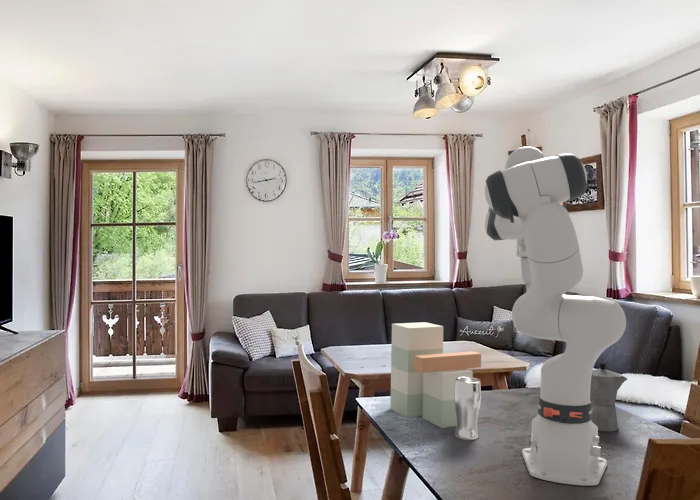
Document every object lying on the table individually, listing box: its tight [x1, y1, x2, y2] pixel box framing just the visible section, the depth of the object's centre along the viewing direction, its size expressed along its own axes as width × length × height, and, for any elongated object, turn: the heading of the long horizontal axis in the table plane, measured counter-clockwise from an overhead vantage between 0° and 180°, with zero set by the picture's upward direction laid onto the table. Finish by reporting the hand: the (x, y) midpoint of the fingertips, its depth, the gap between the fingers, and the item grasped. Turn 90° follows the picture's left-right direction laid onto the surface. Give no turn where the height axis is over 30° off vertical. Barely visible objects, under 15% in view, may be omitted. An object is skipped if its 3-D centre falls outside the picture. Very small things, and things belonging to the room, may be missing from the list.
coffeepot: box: [590, 362, 628, 433], centre depth 166 cm, size 15×9×18 cm, turn 45°
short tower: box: [422, 368, 474, 429], centre depth 168 cm, size 10×10×15 cm
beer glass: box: [454, 377, 482, 441], centre depth 155 cm, size 7×7×15 cm
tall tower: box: [389, 321, 444, 418], centre depth 178 cm, size 12×10×26 cm
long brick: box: [414, 350, 482, 373], centre depth 168 cm, size 20×4×4 cm, turn 115°
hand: (530, 296), depth 178 cm, fingers open, 8 cm apart
